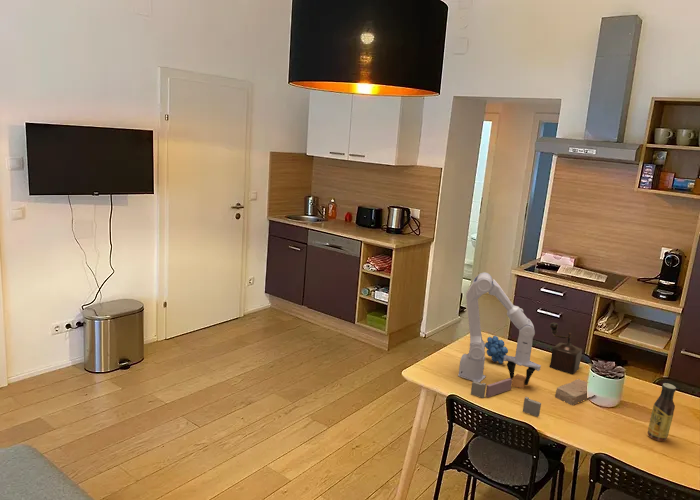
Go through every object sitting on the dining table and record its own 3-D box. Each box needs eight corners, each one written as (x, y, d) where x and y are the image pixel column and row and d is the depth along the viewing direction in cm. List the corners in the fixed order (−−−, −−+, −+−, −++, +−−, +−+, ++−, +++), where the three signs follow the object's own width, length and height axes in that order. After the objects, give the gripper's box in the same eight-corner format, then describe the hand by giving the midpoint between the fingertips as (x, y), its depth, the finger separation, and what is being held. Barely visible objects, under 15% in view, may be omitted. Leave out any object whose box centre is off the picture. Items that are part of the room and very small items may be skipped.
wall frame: (470, 394, 212) (472, 380, 211) (472, 392, 213) (473, 379, 212) (538, 416, 198) (540, 403, 197) (539, 415, 199) (541, 401, 198)
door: (487, 397, 210) (489, 386, 209) (483, 394, 211) (484, 384, 210) (510, 389, 218) (512, 379, 217) (506, 387, 219) (507, 377, 218)
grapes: (478, 359, 245) (481, 334, 243) (486, 356, 250) (489, 331, 247) (501, 369, 237) (504, 343, 235) (509, 365, 242) (512, 339, 239)
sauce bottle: (643, 432, 192) (653, 380, 188) (659, 432, 193) (670, 380, 189) (654, 442, 186) (665, 389, 182) (671, 443, 187) (683, 389, 182)
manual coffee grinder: (580, 367, 245) (587, 329, 241) (572, 375, 236) (579, 336, 233) (546, 357, 254) (551, 320, 250) (537, 363, 246) (543, 326, 242)
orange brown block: (511, 385, 222) (512, 377, 222) (518, 378, 230) (519, 370, 229) (522, 389, 220) (523, 381, 219) (529, 381, 227) (530, 374, 227)
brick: (572, 406, 208) (574, 395, 207) (553, 397, 215) (555, 386, 214) (596, 397, 218) (598, 386, 217) (577, 388, 225) (579, 377, 224)
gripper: (502, 348, 220) (498, 379, 223) (538, 358, 213) (534, 390, 216) (508, 343, 226) (504, 373, 229) (543, 353, 218) (539, 384, 221)
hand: (519, 381), depth 223 cm, fingers open, 5 cm apart
